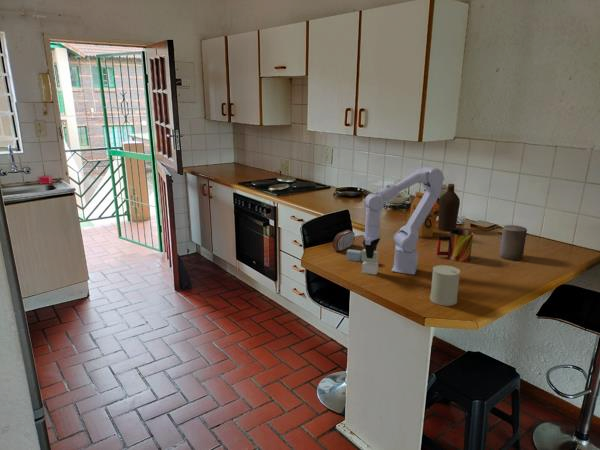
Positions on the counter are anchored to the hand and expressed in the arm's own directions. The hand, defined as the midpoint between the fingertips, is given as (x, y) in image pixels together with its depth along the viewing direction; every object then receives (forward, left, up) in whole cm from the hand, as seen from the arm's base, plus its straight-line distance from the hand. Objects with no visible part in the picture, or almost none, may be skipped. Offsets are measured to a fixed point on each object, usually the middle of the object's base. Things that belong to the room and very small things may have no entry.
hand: (370, 256), depth 177 cm
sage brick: (0, 0, -2) cm, 2 cm away
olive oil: (-25, -77, -7) cm, 81 cm away
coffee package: (-13, -61, -7) cm, 63 cm away
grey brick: (0, 0, -7) cm, 7 cm away
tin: (+18, -24, -7) cm, 31 cm away
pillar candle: (-55, -43, -7) cm, 70 cm away
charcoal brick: (+3, -10, -7) cm, 13 cm away
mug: (-32, -31, -7) cm, 45 cm away
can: (-30, +15, -7) cm, 34 cm away
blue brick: (+10, -12, -7) cm, 17 cm away
